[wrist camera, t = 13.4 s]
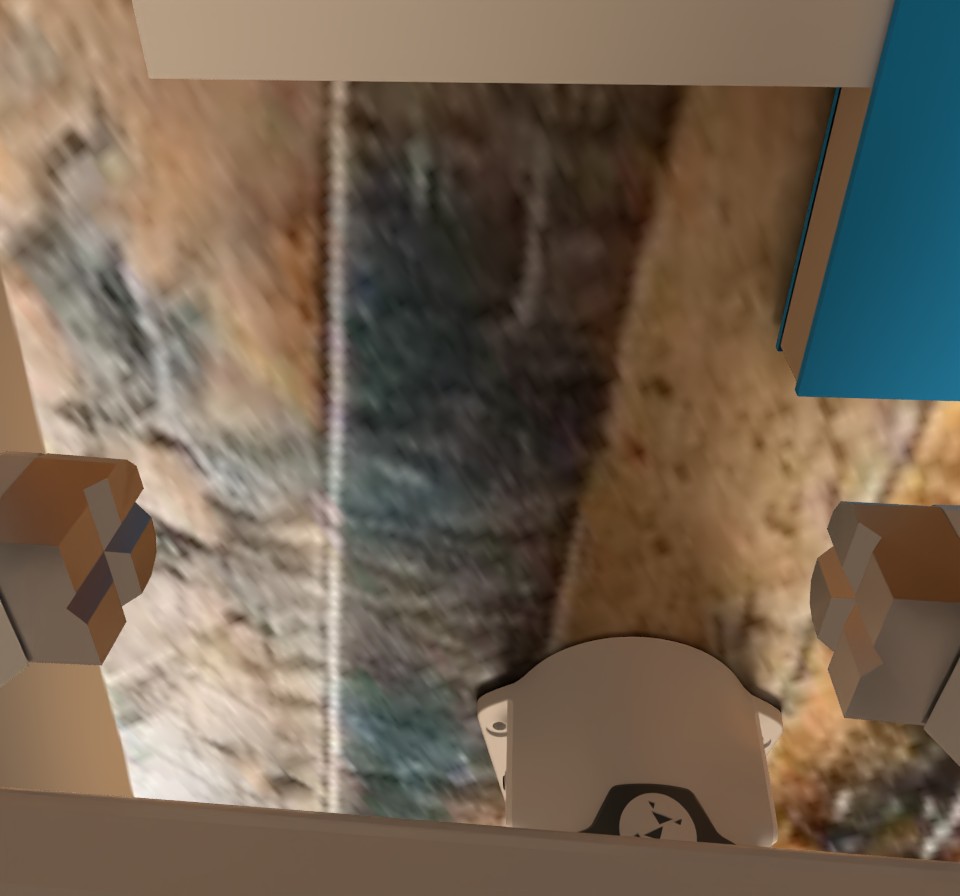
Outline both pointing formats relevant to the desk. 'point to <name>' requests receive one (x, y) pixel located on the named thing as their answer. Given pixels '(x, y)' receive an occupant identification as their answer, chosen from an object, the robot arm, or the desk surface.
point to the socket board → (518, 41)
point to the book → (885, 227)
